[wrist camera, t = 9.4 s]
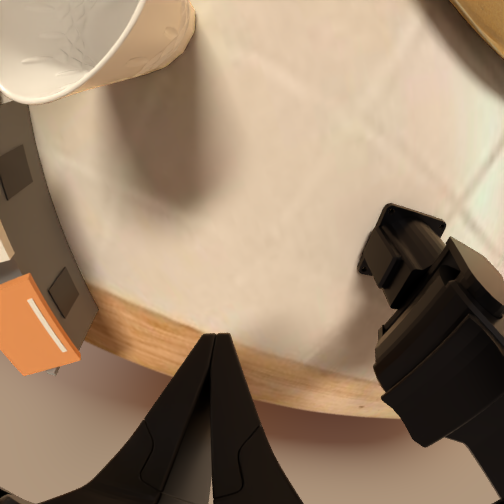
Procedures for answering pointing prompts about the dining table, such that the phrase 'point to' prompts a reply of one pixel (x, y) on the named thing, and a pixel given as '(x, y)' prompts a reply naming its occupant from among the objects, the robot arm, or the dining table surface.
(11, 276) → the rocker switch box
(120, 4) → the white cup
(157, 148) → the dining table surface
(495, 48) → the plant saucer
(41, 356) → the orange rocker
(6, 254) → the white rocker
